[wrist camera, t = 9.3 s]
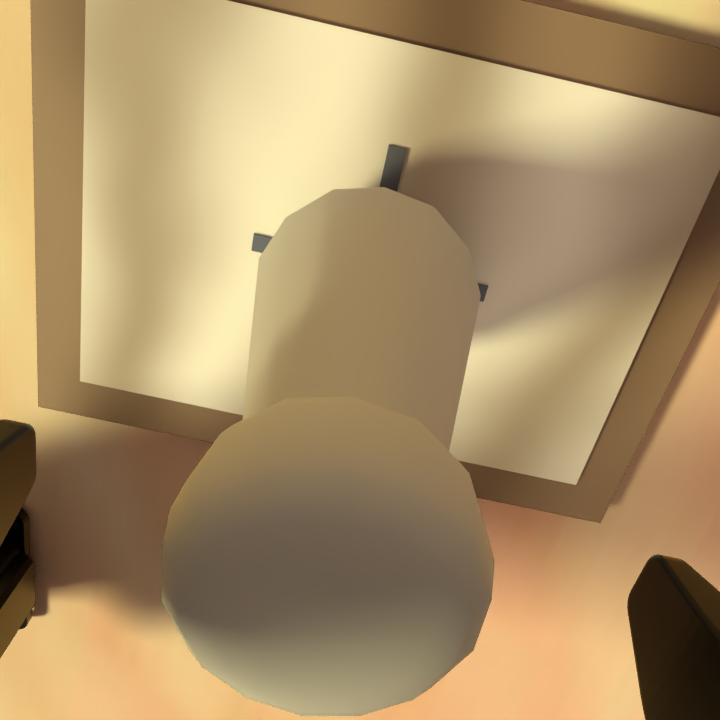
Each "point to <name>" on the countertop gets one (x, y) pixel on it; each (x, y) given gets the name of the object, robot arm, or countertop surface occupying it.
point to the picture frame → (369, 170)
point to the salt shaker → (340, 472)
